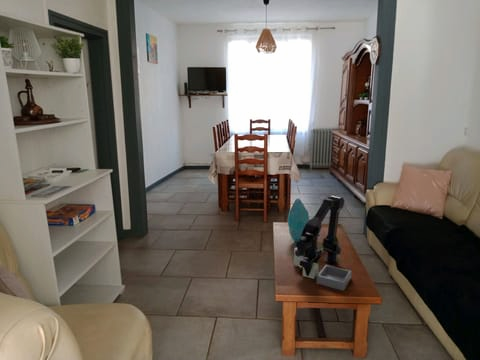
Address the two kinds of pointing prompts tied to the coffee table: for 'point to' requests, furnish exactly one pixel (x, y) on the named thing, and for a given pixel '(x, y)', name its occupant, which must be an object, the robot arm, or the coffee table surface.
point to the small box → (298, 258)
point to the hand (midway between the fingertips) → (310, 272)
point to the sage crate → (312, 271)
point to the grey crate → (334, 277)
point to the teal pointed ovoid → (297, 219)
